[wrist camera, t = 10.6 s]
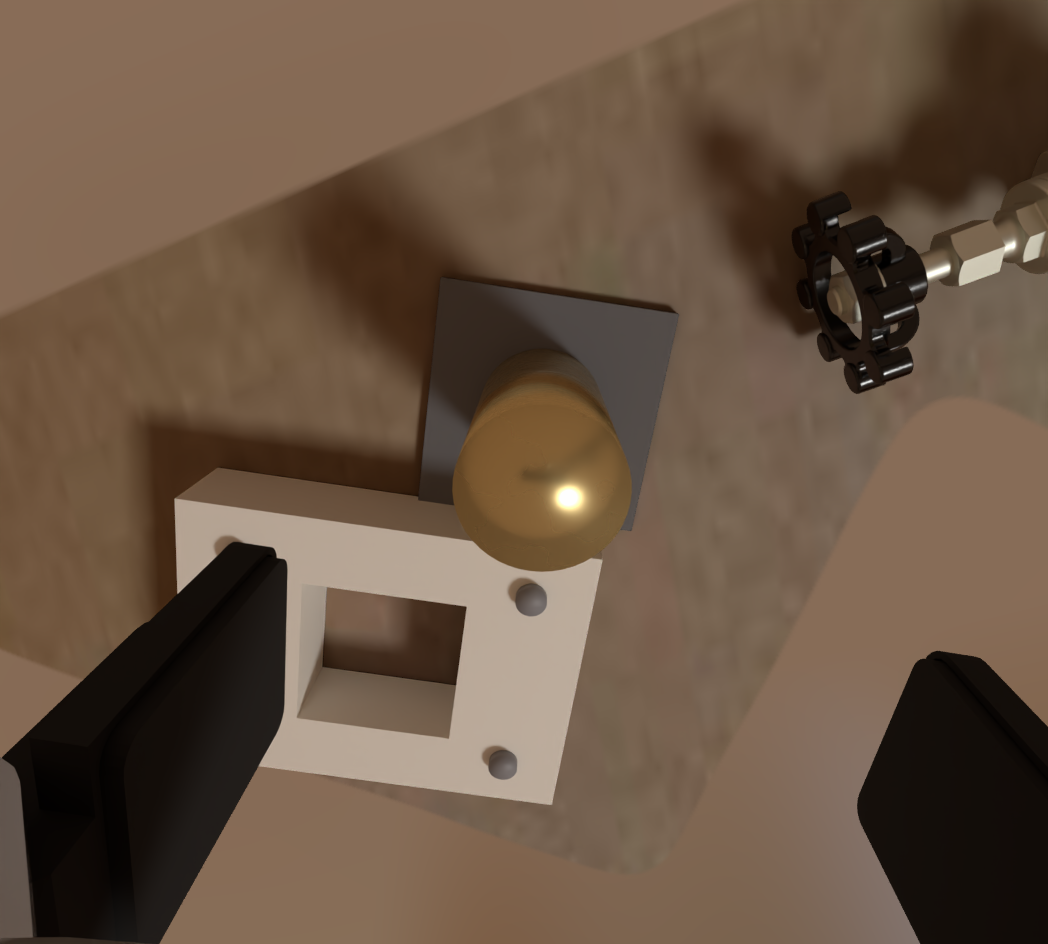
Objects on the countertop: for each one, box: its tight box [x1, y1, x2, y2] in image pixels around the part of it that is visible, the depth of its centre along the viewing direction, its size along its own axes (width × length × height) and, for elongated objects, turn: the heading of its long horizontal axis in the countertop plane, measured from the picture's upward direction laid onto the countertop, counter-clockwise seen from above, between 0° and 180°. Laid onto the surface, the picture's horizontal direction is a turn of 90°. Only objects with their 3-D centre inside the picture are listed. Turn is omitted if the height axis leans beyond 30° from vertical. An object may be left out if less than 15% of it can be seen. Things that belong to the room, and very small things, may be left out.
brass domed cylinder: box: [452, 348, 632, 572], centre depth 22 cm, size 5×5×9 cm
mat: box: [418, 277, 679, 531], centre depth 27 cm, size 9×9×1 cm
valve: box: [792, 151, 1048, 394], centre depth 21 cm, size 7×7×12 cm
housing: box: [175, 468, 602, 805], centre depth 28 cm, size 16×12×4 cm
